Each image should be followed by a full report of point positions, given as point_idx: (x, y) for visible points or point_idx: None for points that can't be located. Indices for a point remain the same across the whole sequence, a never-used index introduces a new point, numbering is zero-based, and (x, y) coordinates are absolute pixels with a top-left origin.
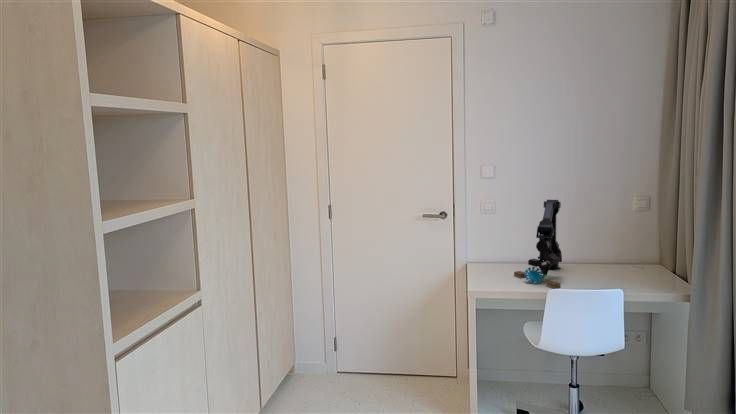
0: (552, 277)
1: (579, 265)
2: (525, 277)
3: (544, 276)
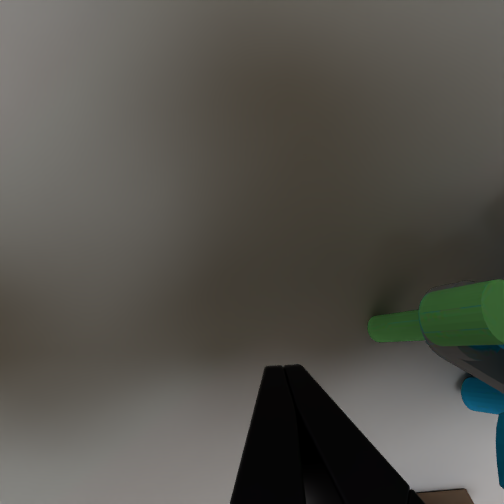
0: (29, 371)
1: None
2: None
3: (500, 293)
